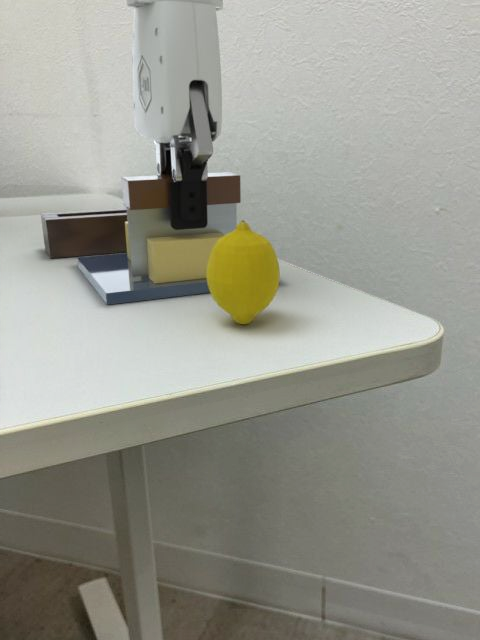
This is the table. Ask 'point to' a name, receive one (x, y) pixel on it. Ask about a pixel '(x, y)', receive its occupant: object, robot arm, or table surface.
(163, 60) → the robot arm
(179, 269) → the butter slice
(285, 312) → the table surface
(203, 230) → the scraper
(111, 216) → the scraper holder
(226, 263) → the fruit
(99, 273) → the butter dish
